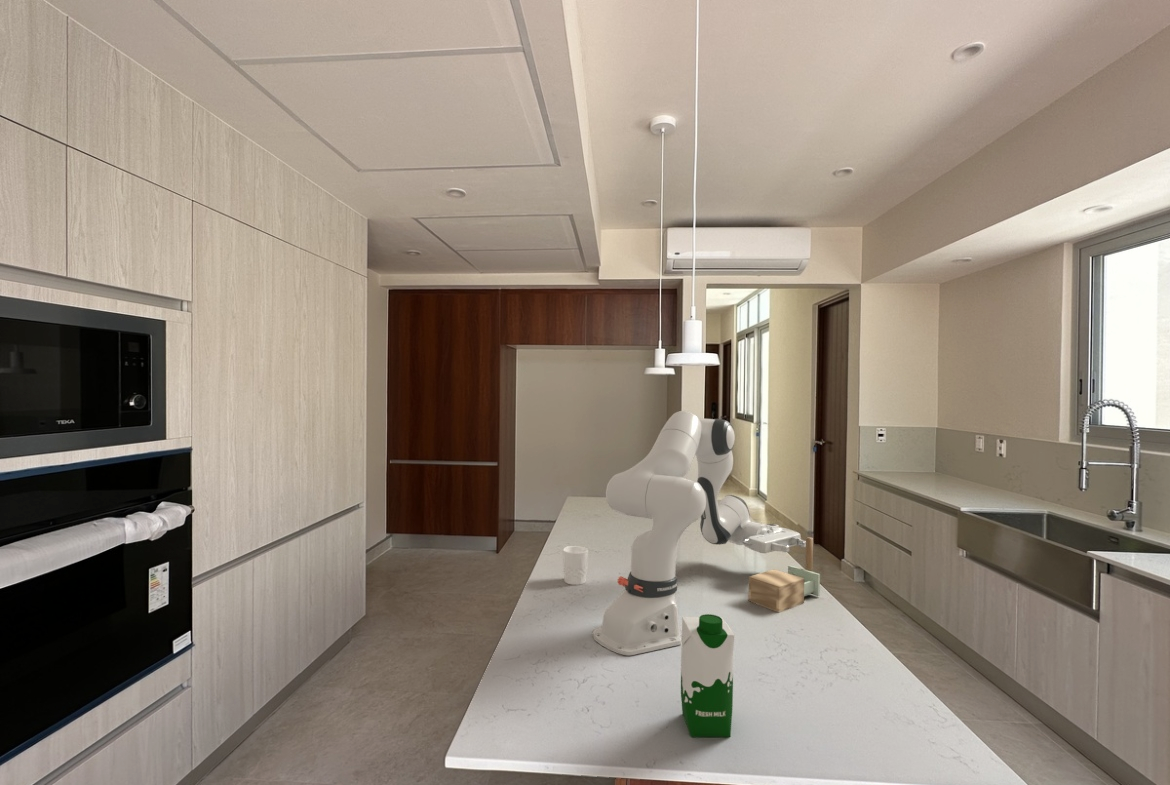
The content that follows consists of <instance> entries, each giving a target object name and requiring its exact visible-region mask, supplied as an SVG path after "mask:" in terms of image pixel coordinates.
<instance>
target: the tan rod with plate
mask: <svg viewBox="0 0 1170 785" xmlns="http://www.w3.org/2000/svg"><path fill="white" fill-rule="evenodd" d="M805 541H806V547H805V564H804V565H805V568H801V567H797V566H794V565H790V564H789V565H787V573H788V574H791V575H794V576H797V577H801V578H804V597H807V596H809V595H812V596H816V597H820V589H821V587H820V586H821V585H820V584H821V583H820V582H821V574H820V573H817V572H815V571H813V564H814V563H813V559H814V557H813V553H814V537H810V536H807V537H805Z"/></svg>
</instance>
